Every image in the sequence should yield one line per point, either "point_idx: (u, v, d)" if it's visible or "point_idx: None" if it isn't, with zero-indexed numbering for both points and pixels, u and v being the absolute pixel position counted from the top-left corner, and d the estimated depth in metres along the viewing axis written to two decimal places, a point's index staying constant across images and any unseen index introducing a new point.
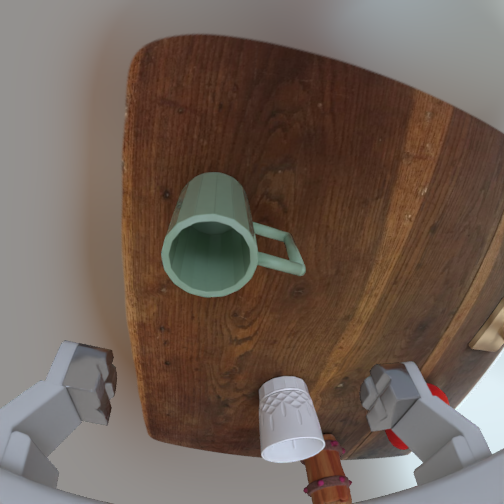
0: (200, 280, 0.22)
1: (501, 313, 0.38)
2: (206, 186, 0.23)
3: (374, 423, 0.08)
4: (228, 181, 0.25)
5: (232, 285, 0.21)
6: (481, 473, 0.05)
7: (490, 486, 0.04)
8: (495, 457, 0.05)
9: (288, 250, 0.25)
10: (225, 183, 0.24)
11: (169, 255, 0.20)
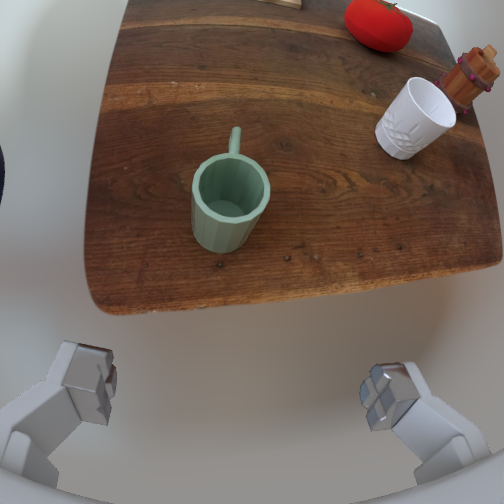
0: (260, 196, 0.26)
1: None
2: (193, 220, 0.28)
3: (374, 423, 0.08)
4: None
5: (253, 167, 0.25)
6: (481, 473, 0.05)
7: (490, 486, 0.04)
8: (495, 457, 0.05)
9: None
10: None
11: None
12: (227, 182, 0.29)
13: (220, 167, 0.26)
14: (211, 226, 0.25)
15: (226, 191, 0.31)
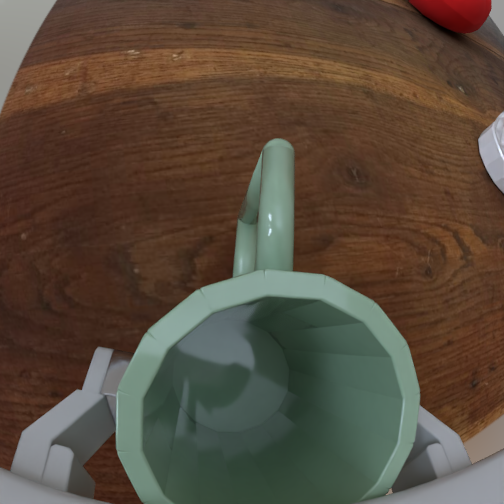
0: (374, 412, 0.06)
1: None
2: None
3: None
4: None
5: (367, 328, 0.06)
6: (481, 473, 0.05)
7: (490, 486, 0.04)
8: (495, 457, 0.05)
9: (258, 203, 0.11)
10: None
11: None
12: (249, 314, 0.10)
13: (229, 311, 0.07)
14: None
15: (243, 318, 0.12)
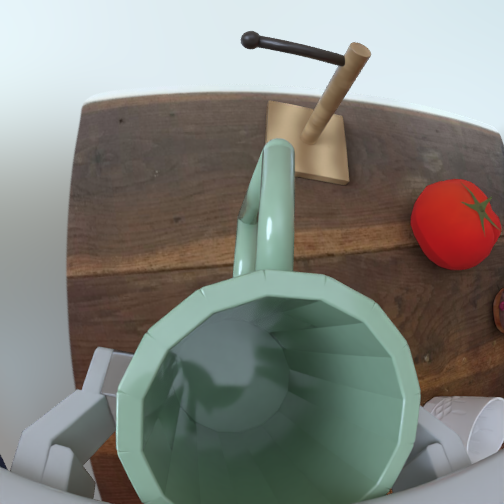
0: (374, 413, 0.06)
1: None
2: None
3: None
4: None
5: (367, 328, 0.06)
6: (481, 473, 0.05)
7: (490, 486, 0.04)
8: (495, 457, 0.05)
9: (258, 203, 0.11)
10: None
11: None
12: (249, 314, 0.10)
13: (229, 312, 0.07)
14: None
15: (243, 318, 0.12)
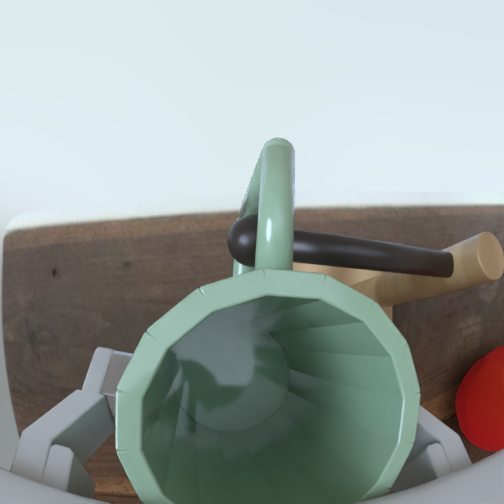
0: (374, 412, 0.06)
1: None
2: None
3: None
4: None
5: (367, 327, 0.06)
6: (481, 473, 0.05)
7: (490, 486, 0.04)
8: (495, 457, 0.05)
9: (257, 202, 0.11)
10: None
11: None
12: (248, 314, 0.10)
13: (229, 311, 0.07)
14: None
15: (243, 318, 0.12)
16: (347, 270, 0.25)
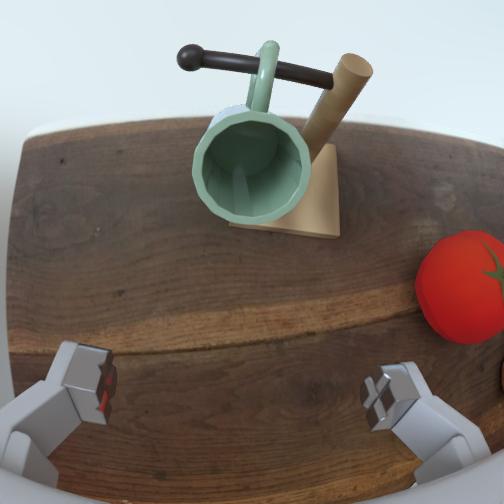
0: (296, 172, 0.17)
1: None
2: None
3: (374, 423, 0.08)
4: None
5: (290, 136, 0.15)
6: (481, 473, 0.05)
7: (490, 486, 0.04)
8: (495, 457, 0.05)
9: None
10: None
11: (256, 215, 0.17)
12: None
13: None
14: None
15: None
16: None
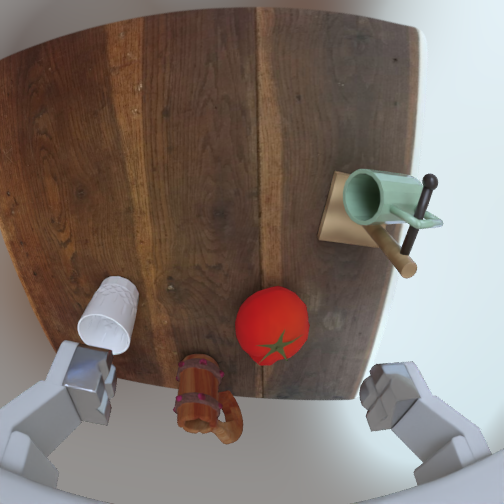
0: (362, 217, 0.34)
1: (338, 190, 0.41)
2: None
3: (374, 423, 0.08)
4: (408, 176, 0.34)
5: (371, 218, 0.32)
6: (481, 473, 0.05)
7: (490, 486, 0.04)
8: (495, 457, 0.05)
9: None
10: (403, 175, 0.34)
11: (346, 193, 0.35)
12: None
13: None
14: None
15: None
16: None
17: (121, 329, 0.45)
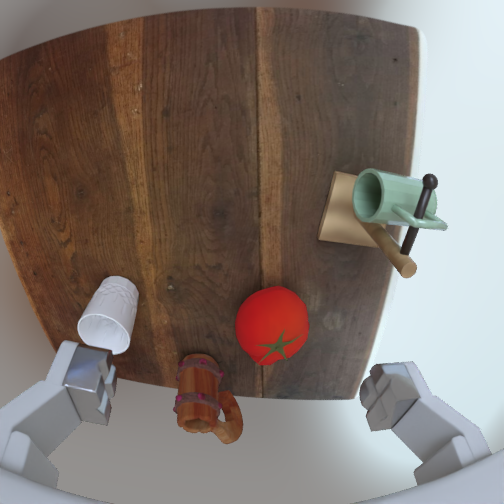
0: (368, 216, 0.35)
1: (338, 190, 0.41)
2: None
3: (374, 423, 0.08)
4: (419, 180, 0.34)
5: (373, 215, 0.33)
6: (481, 473, 0.05)
7: (490, 486, 0.04)
8: (495, 457, 0.05)
9: None
10: (414, 179, 0.34)
11: (355, 192, 0.36)
12: None
13: None
14: None
15: None
16: None
17: (121, 329, 0.45)
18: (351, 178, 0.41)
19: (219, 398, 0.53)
